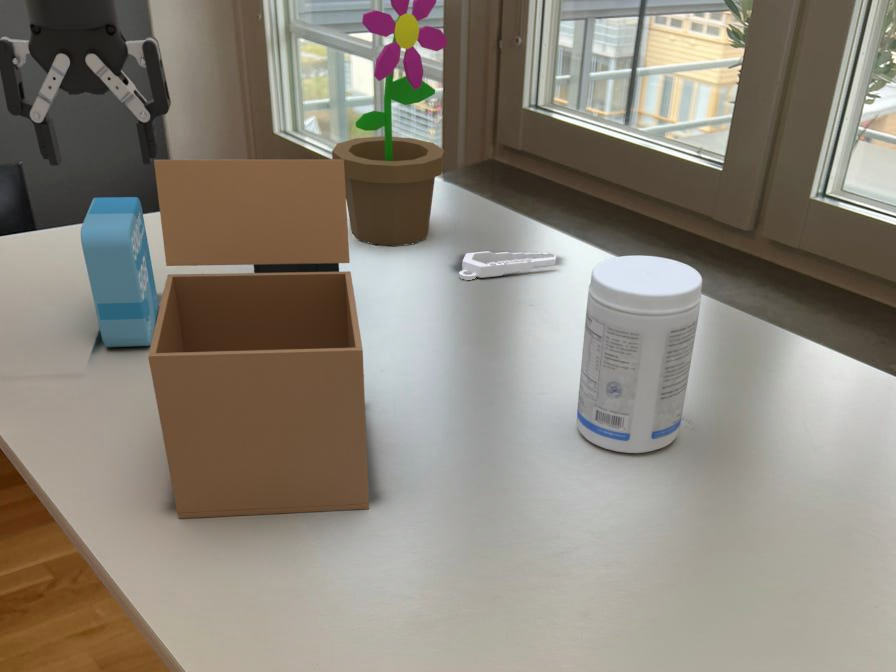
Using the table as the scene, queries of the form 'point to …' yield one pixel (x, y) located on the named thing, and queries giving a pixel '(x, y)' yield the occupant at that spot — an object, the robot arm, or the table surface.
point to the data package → (120, 271)
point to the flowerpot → (394, 139)
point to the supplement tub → (637, 352)
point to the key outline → (501, 263)
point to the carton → (261, 393)
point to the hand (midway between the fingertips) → (102, 163)
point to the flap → (252, 211)
